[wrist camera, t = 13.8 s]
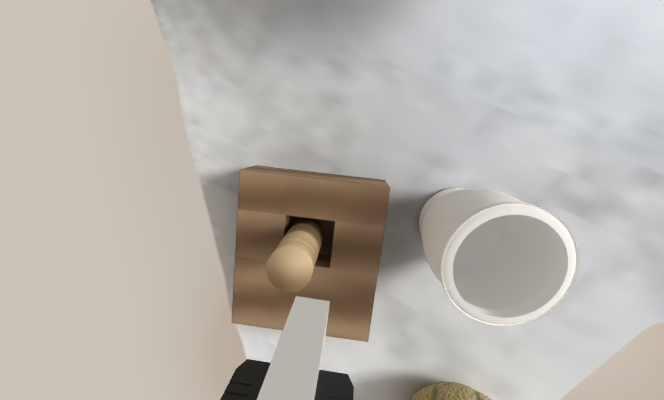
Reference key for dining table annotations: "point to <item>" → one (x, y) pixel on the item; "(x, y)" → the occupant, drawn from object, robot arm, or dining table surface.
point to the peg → (295, 256)
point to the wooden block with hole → (334, 256)
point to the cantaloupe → (448, 392)
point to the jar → (498, 254)
